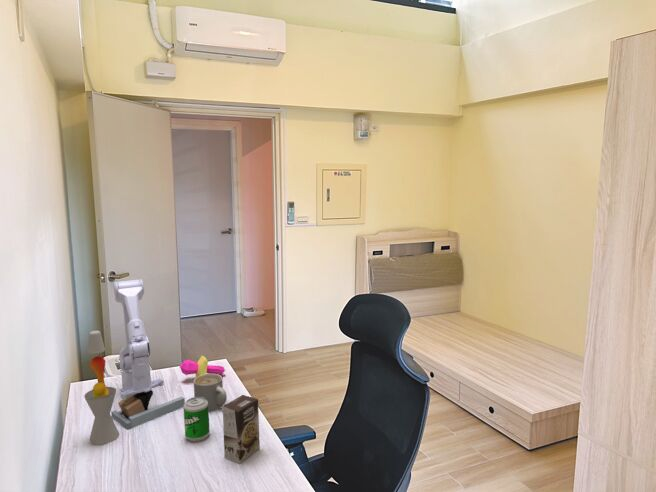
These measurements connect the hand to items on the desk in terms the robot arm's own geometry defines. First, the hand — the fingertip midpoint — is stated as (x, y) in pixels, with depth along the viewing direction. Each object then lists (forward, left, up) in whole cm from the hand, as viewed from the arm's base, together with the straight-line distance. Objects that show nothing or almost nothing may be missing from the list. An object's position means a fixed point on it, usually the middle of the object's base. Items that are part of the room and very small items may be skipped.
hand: (144, 411), depth 165 cm
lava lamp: (+5, -16, -1) cm, 16 cm away
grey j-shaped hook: (0, +2, -1) cm, 3 cm away
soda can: (+27, +4, -1) cm, 27 cm away
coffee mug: (+14, +18, -1) cm, 23 cm away
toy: (-10, +30, -1) cm, 31 cm away
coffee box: (+45, +8, -1) cm, 45 cm away
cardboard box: (0, -3, 0) cm, 3 cm away
